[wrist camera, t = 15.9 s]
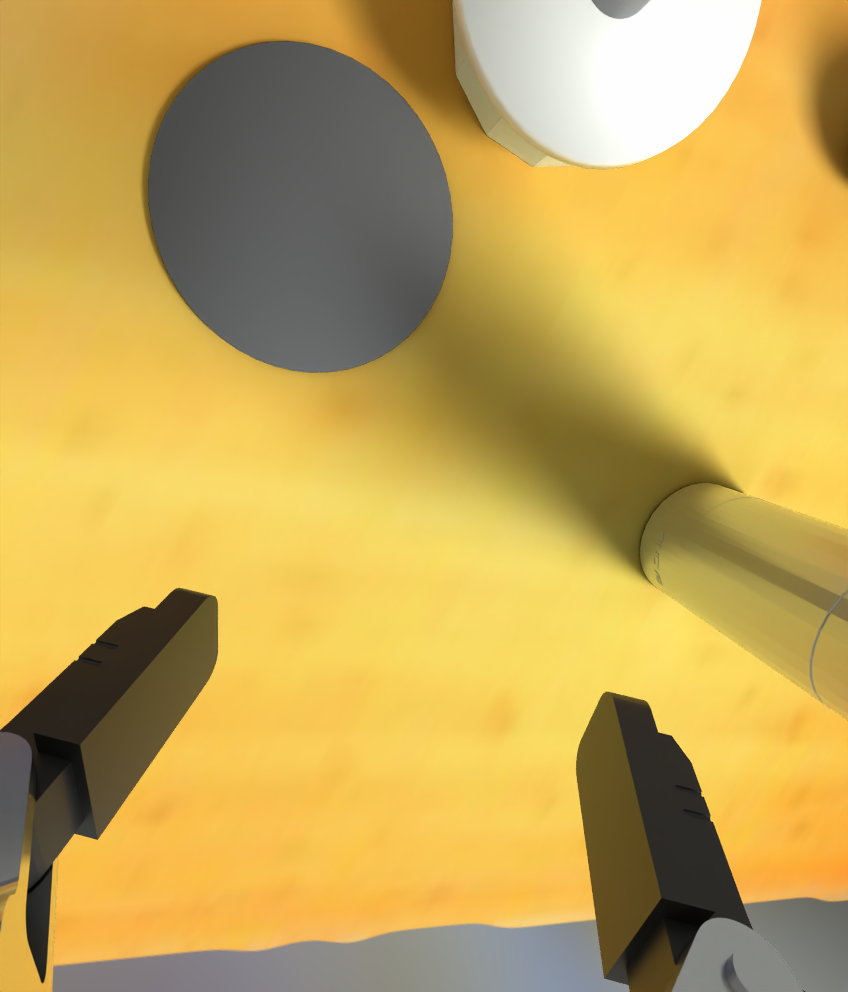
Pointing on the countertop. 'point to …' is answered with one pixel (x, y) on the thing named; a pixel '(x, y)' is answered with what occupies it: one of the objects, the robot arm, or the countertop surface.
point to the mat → (300, 207)
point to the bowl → (493, 110)
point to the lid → (605, 70)
